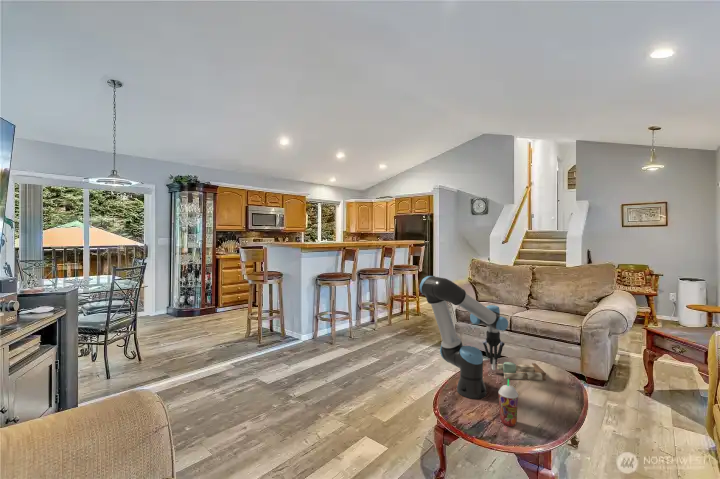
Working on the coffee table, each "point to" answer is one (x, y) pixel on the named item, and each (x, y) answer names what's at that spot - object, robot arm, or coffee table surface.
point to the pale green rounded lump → (509, 367)
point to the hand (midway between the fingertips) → (493, 369)
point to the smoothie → (508, 404)
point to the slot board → (531, 370)
